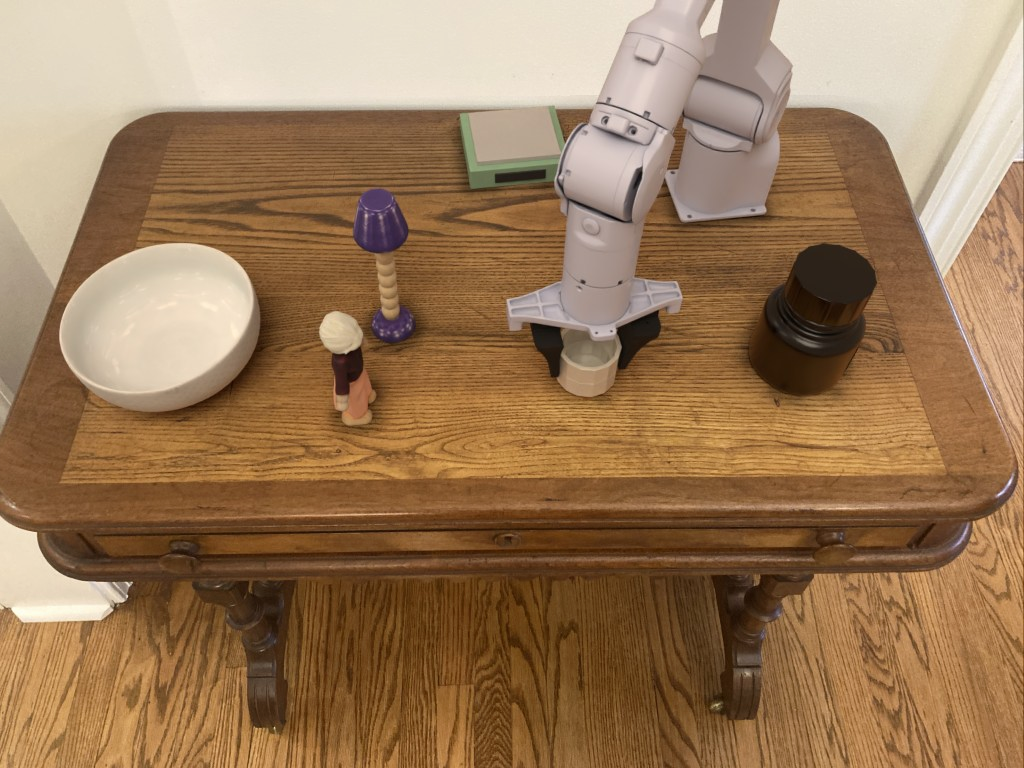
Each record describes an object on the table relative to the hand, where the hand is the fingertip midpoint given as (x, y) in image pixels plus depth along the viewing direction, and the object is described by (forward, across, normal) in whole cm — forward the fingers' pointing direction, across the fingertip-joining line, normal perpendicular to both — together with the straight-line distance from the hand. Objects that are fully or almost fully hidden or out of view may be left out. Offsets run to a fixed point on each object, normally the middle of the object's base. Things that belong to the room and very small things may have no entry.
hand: (586, 364), depth 78 cm
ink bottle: (+2, +20, -1) cm, 20 cm away
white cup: (+2, 0, 0) cm, 2 cm away
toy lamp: (+2, -17, +8) cm, 19 cm away
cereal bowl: (+2, -37, +7) cm, 38 cm away
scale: (+2, -2, +32) cm, 32 cm away
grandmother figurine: (+2, -21, -1) cm, 21 cm away
